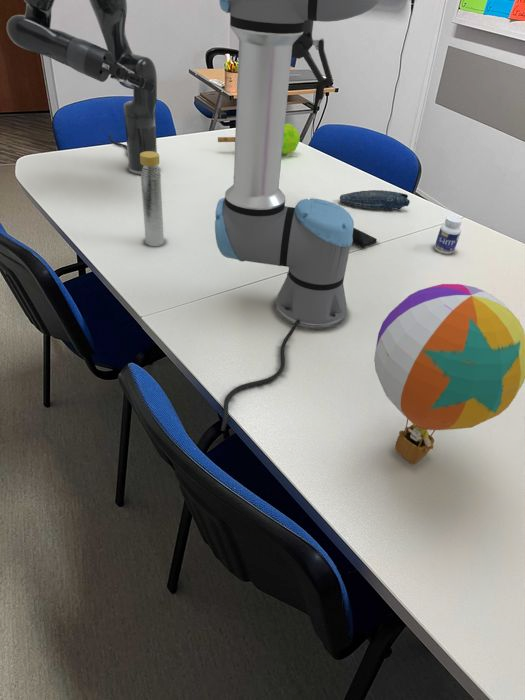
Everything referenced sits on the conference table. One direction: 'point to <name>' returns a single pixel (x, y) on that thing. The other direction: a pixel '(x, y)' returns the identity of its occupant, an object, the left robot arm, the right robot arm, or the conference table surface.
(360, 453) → the conference table surface
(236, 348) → the conference table surface
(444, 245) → the pill bottle
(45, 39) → the left robot arm
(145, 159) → the cap
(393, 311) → the toy
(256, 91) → the right robot arm
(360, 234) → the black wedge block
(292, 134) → the decorative tree
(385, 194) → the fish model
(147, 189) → the bottle
